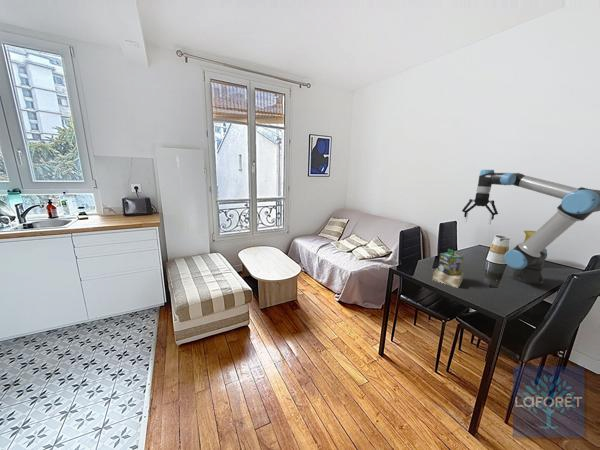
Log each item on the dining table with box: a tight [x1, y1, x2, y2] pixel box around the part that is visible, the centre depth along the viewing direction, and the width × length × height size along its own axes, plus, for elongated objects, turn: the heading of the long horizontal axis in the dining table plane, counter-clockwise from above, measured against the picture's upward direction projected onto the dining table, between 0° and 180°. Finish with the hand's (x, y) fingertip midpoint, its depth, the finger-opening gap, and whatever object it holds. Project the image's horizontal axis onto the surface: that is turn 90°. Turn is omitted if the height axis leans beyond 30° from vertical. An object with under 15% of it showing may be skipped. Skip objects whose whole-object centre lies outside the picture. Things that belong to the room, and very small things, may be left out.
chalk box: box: [437, 248, 464, 275], centre depth 151 cm, size 9×9×15 cm
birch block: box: [432, 267, 465, 289], centre depth 153 cm, size 14×14×6 cm
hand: (477, 223), depth 170 cm, fingers open, 13 cm apart
